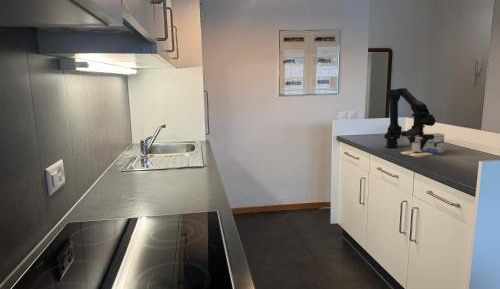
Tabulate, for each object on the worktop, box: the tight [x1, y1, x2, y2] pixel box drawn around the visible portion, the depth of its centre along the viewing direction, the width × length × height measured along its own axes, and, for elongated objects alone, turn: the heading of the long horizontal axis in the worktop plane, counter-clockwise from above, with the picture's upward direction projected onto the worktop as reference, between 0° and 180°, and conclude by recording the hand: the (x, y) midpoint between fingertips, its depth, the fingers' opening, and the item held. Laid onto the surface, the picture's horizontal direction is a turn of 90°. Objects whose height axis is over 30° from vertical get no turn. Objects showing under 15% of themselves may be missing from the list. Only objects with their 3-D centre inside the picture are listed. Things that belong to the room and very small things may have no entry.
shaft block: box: [400, 150, 434, 158], centre depth 224 cm, size 14×12×6 cm
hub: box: [410, 141, 423, 152], centre depth 223 cm, size 6×6×5 cm
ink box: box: [426, 132, 445, 154], centre depth 228 cm, size 8×5×12 cm, turn 105°
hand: (416, 148), depth 224 cm, fingers closed on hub, 6 cm apart
